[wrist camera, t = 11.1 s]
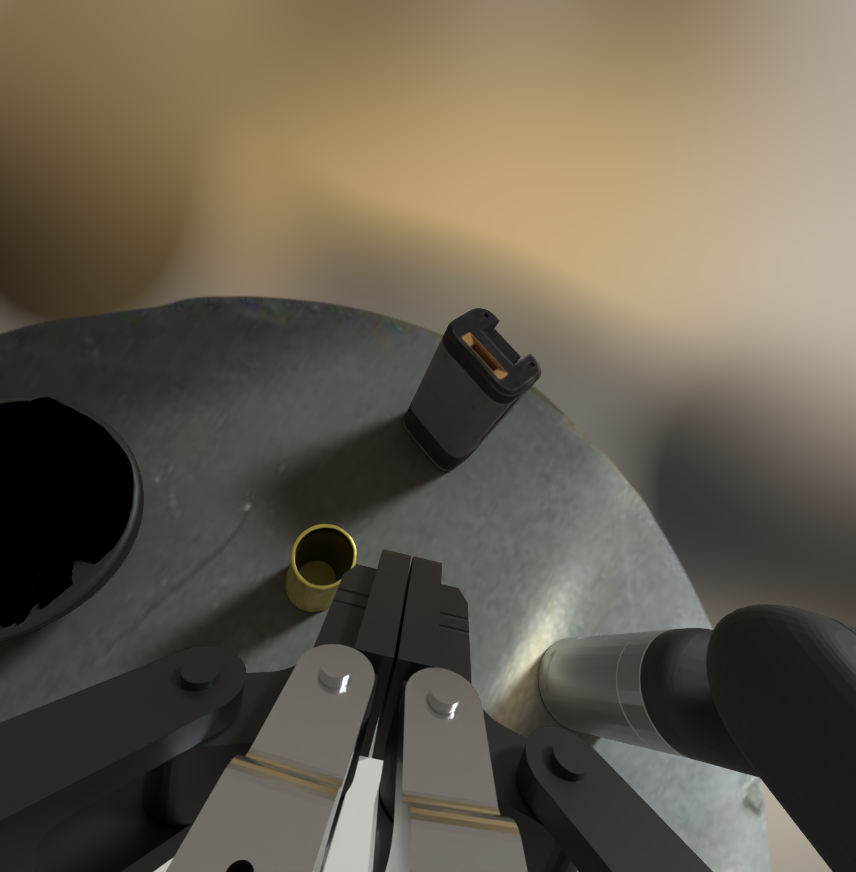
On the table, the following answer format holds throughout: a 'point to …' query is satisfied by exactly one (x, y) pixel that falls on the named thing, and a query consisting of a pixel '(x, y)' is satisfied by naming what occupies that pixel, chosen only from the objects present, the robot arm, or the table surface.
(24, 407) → the coal bowl
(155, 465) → the table surface
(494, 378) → the electronic device
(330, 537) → the vase
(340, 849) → the power box
